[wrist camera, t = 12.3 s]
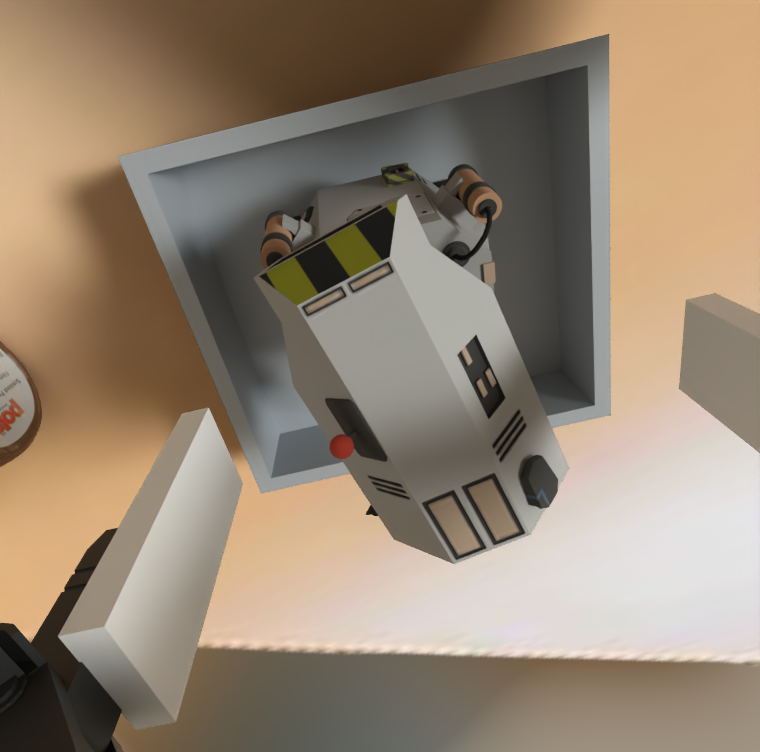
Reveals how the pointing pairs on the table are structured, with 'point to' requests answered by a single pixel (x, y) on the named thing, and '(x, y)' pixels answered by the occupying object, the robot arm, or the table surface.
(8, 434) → the tin
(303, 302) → the figurine
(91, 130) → the table surface
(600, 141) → the bin
